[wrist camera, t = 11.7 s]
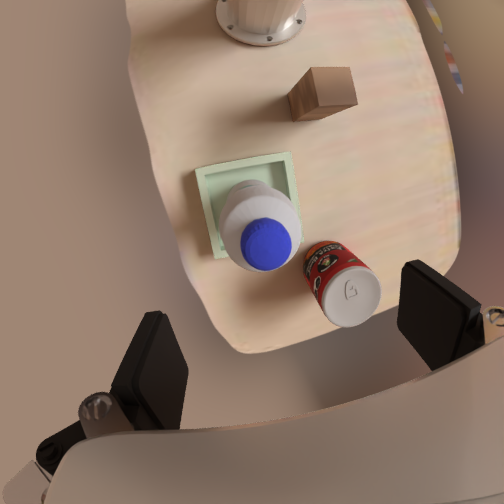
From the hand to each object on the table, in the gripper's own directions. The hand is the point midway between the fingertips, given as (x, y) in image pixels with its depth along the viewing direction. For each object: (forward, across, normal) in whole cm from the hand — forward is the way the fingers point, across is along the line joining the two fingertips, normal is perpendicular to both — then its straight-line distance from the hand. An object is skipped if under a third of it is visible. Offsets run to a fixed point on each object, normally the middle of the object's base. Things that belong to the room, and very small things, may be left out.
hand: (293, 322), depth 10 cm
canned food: (+28, -9, +11) cm, 32 cm away
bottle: (+28, 0, 0) cm, 28 cm away
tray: (+28, 0, 0) cm, 28 cm away
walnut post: (+28, -9, -12) cm, 32 cm away
